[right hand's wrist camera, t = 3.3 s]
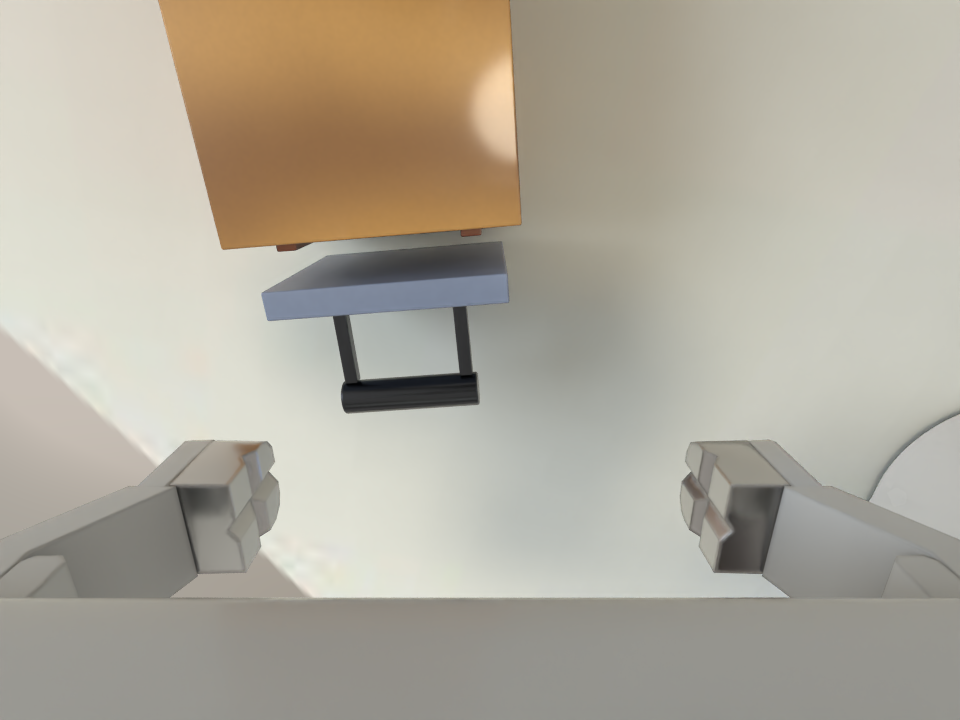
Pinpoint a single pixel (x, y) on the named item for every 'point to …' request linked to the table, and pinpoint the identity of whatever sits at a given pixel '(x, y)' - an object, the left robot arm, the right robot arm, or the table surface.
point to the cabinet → (349, 115)
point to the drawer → (397, 287)
